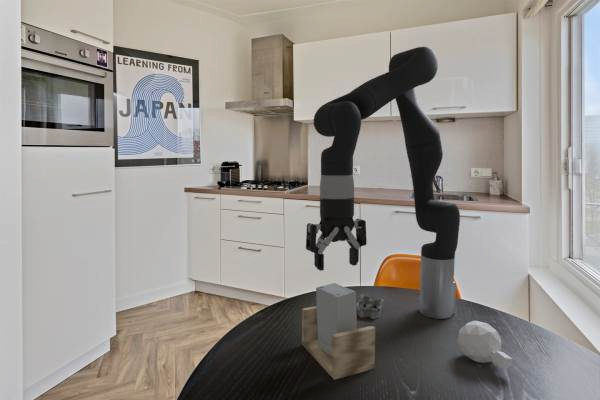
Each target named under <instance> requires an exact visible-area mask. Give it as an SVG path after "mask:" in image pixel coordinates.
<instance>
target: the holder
mask: <svg viewBox="0 0 600 400" xmlns="http://www.w3.org/2000/svg"><path fill="white" fill-rule="evenodd" d="M301 345H302V347H304V348H305V350H306V351H307V352H308V353H309V354H310V355H311V356H312V357H313V358H314V360H315V361H316V362H318V364H319V365H320V366H321V367H322V368H323V370H325V371H326V373H327V374H328V375H329V376H330V377H331V378H332V379H333V380H334V381H335V380H338V379H342V378H346V377H349V376H354V375H356V374H360V373H363V372H367V371H371V370H373V369H375V364H376V363H375V360H376V359H375V356H376V327H375V326H373V325H370V326H365V327H359V328H357V329H355V330H351V331H346V332H342V333H337V334H333V335H332V356H330V355H329V354H327V353H326V352H325V351H323V350H322V349H320V348H319V347H318V327H317V305H315V306H310V307H304V308H301Z"/></svg>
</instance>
